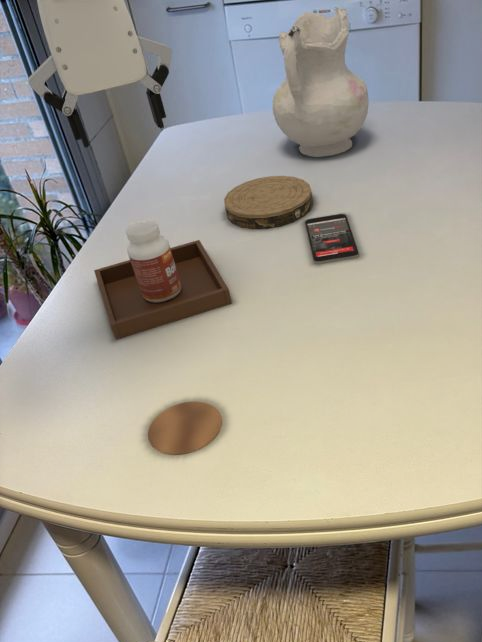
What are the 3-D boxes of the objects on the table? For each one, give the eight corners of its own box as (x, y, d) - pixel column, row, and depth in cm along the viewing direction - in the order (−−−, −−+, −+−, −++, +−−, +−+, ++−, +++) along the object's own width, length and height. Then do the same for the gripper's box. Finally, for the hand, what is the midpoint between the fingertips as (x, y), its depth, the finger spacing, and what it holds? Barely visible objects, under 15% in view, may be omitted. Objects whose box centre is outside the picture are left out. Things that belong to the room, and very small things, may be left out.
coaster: (157, 467, 74) (155, 463, 74) (142, 419, 80) (141, 416, 80) (231, 440, 76) (230, 437, 75) (212, 396, 82) (210, 392, 82)
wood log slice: (299, 184, 125) (297, 168, 123) (324, 217, 114) (322, 201, 112) (219, 203, 123) (216, 188, 121) (237, 239, 112) (233, 223, 110)
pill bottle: (182, 300, 99) (161, 233, 91) (142, 307, 98) (118, 240, 91) (182, 279, 103) (163, 214, 95) (144, 286, 103) (122, 220, 95)
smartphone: (313, 262, 102) (304, 219, 112) (314, 266, 102) (304, 223, 113) (359, 254, 102) (345, 212, 112) (360, 258, 102) (346, 216, 113)
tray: (116, 342, 93) (110, 325, 91) (100, 285, 105) (93, 270, 103) (232, 305, 97) (228, 288, 95) (203, 255, 109) (199, 239, 107)
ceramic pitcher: (361, 175, 128) (363, 31, 110) (264, 172, 130) (251, 31, 113) (371, 134, 143) (374, 1, 125) (285, 132, 145) (276, 2, 128)
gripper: (142, -44, 75) (181, 110, 87) (-9, -14, 72) (53, 142, 84) (155, -37, 70) (194, 126, 82) (-7, -3, 67) (58, 161, 79)
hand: (123, 134), depth 83 cm, fingers open, 9 cm apart
